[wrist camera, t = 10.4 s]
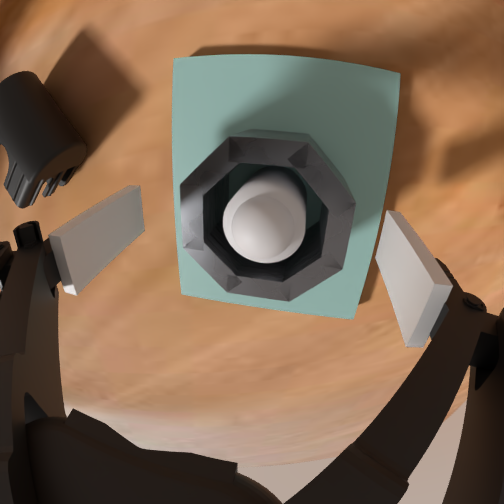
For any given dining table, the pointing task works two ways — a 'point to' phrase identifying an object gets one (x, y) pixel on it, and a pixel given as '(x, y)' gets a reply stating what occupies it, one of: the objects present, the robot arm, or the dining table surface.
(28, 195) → the end cap
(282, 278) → the collar
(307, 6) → the dining table surface
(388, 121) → the post stand
